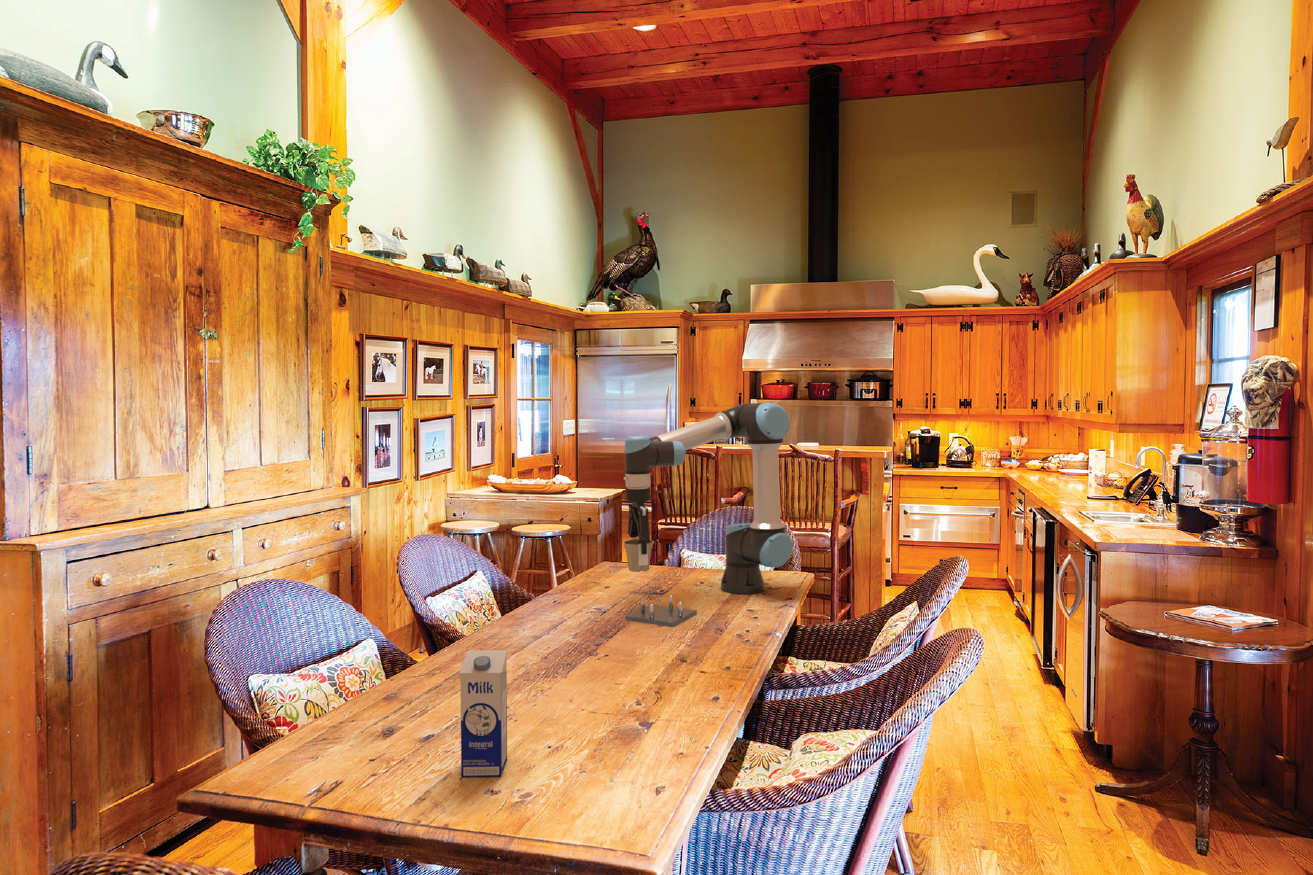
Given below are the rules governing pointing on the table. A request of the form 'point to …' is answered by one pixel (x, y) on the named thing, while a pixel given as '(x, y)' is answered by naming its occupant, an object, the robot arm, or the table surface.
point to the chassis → (661, 614)
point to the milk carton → (483, 713)
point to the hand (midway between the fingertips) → (639, 561)
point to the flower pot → (636, 555)
